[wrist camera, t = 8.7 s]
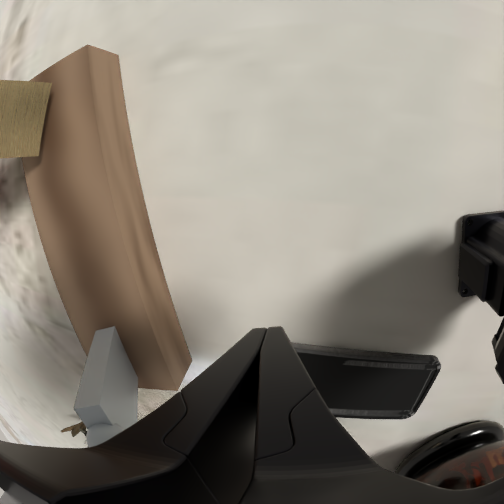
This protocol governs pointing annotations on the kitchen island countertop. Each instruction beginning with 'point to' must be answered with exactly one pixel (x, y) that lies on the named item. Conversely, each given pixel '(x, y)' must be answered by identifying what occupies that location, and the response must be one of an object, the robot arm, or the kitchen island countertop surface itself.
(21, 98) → the brass lever
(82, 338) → the walnut panel
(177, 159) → the kitchen island countertop surface
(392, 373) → the phone
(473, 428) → the amphora vase
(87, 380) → the slate lever
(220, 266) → the kitchen island countertop surface
